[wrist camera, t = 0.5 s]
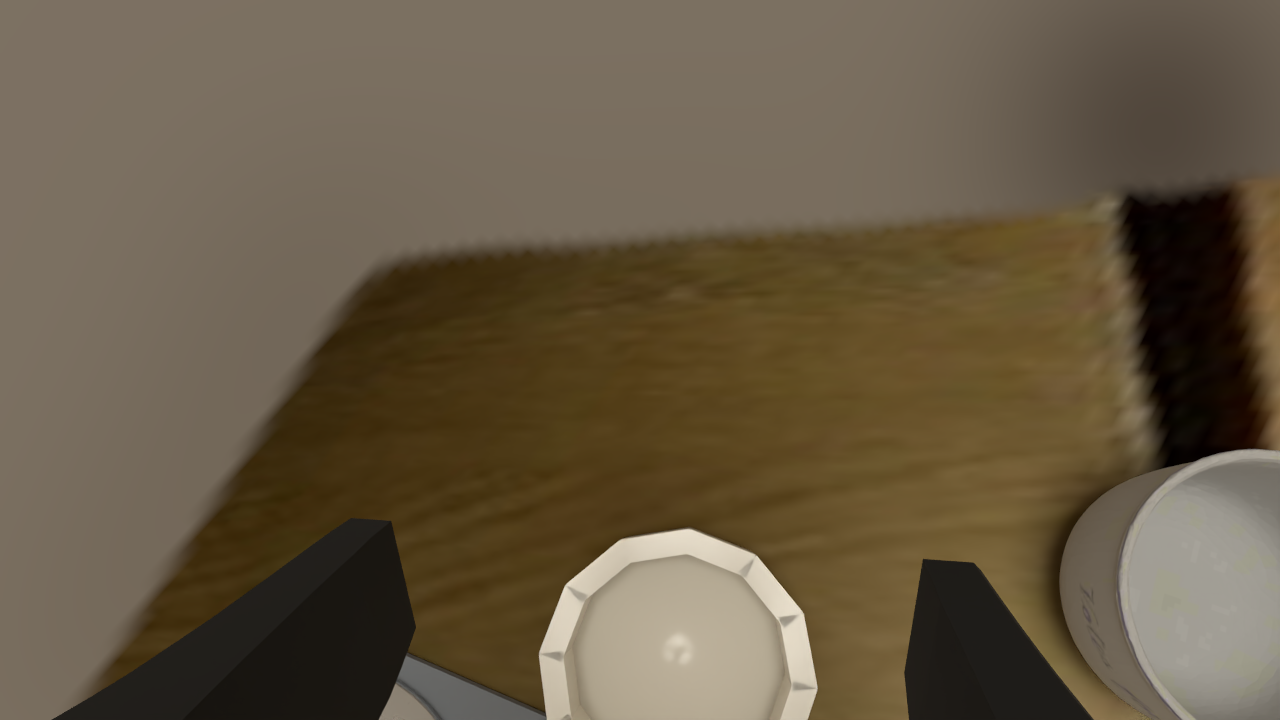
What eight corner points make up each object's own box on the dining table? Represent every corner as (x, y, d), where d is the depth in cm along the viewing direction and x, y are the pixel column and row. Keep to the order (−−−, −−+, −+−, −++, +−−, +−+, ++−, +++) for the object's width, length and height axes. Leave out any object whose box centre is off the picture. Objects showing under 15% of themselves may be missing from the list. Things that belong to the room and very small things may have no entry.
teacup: (979, 596, 35) (1060, 620, 27) (1125, 413, 36) (1244, 386, 29) (1255, 828, 33) (1431, 927, 25) (1404, 624, 34) (1617, 659, 26)
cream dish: (752, 830, 34) (759, 866, 31) (520, 727, 36) (501, 750, 32) (835, 584, 36) (849, 591, 32) (609, 495, 37) (600, 493, 34)
